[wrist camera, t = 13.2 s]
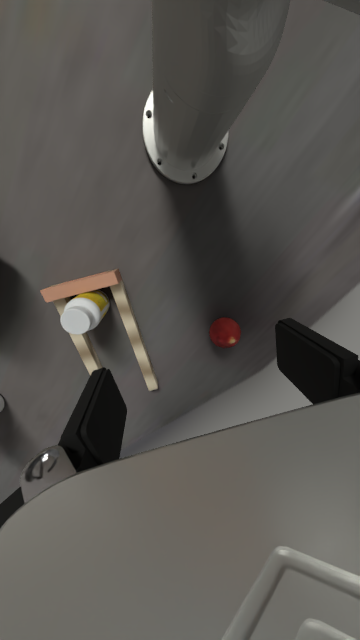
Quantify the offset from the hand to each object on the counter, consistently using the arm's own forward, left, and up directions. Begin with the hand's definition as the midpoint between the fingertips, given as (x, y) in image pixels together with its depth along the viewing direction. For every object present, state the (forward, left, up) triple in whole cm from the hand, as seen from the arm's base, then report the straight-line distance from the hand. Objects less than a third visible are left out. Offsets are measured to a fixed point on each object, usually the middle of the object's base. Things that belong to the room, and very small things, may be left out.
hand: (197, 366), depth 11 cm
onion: (+12, +8, -28) cm, 32 cm away
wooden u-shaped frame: (+9, -14, -28) cm, 33 cm away
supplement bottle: (+1, -14, -28) cm, 32 cm away
